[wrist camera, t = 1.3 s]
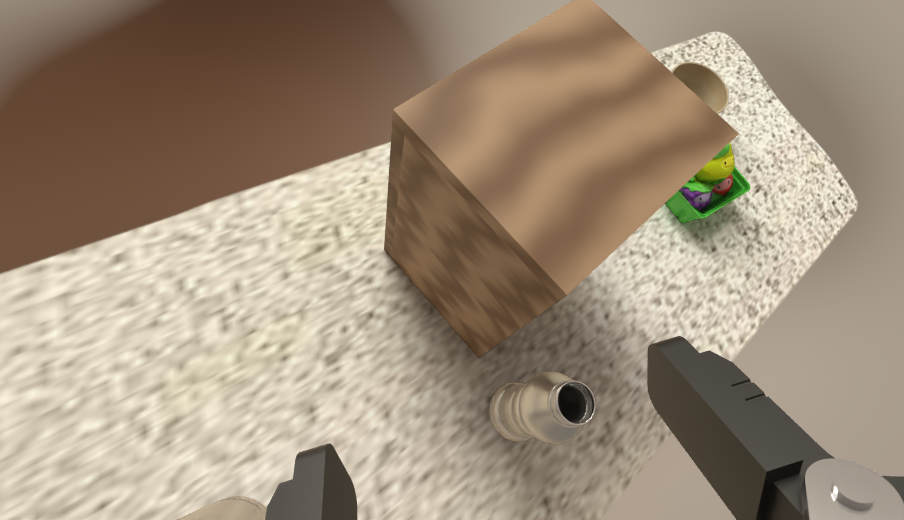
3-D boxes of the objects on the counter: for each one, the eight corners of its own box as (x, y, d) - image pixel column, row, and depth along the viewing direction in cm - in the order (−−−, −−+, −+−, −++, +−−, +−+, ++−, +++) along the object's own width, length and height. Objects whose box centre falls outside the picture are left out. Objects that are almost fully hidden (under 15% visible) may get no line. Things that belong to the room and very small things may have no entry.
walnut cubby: (592, 253, 67) (738, 133, 40) (478, 358, 59) (567, 294, 32) (503, 161, 70) (584, -7, 43) (384, 249, 62) (393, 109, 35)
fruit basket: (680, 234, 71) (734, 199, 60) (644, 188, 73) (690, 147, 62) (729, 203, 74) (787, 165, 64) (693, 160, 76) (744, 117, 66)
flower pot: (659, 144, 76) (686, 117, 70) (636, 95, 79) (660, 64, 73) (709, 137, 79) (740, 109, 72) (685, 89, 82) (712, 58, 75)
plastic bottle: (534, 385, 59) (608, 363, 41) (536, 442, 57) (616, 446, 38) (485, 383, 58) (537, 359, 40) (485, 441, 56) (541, 444, 37)
